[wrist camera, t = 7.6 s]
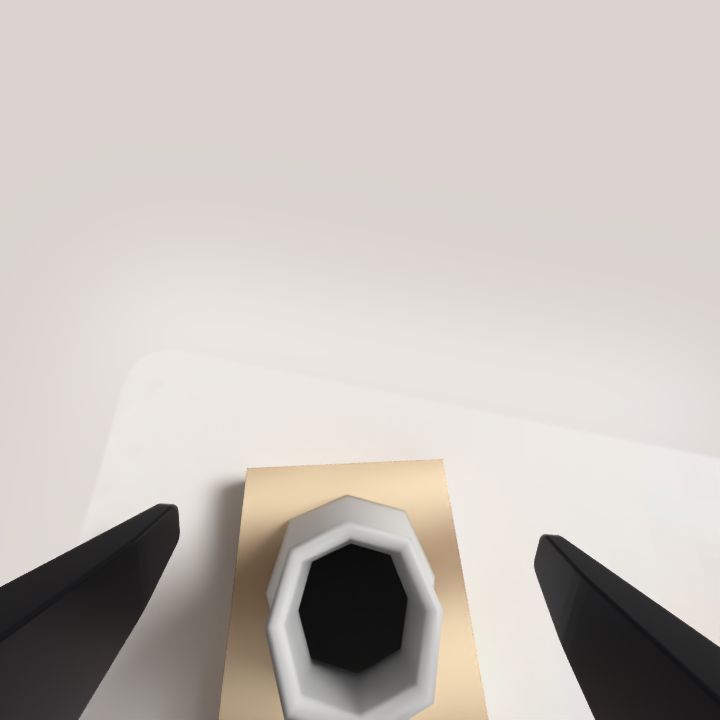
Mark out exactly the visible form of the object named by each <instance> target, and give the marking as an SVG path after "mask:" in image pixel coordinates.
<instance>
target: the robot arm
mask: <svg viewBox="0 0 720 720" xmlns="http://www.w3.org/2000/svg"><path fill="white" fill-rule="evenodd" d="M179 535H180V527H179V513H178V507H177V506H176V505H174V504H163V503H162V504H157V505H155V506H153V507H151V508H150V509H148V510H146V511H144V512H142V513H140V514H138V515H136V516H134V517H132V518H131V519H129V520H127V521H125V522H123V523H121V524H119V525H117V526H115V527H113V528H112V529H110V530H108V531H106V532H104V533H102V534H100V535H98V536H96V537H94V538H93V539H91V540H89V541H87V542H85V543H83V544H81V545H79V546H77V547H75V548H74V549H72V550H70V551H68V552H66V553H64V554H62V555H60V556H58V557H56V558H55V559H53V560H51V561H49V562H47V563H45V564H43V565H41V566H39V567H38V568H36V569H34V570H32V571H30V572H28V573H26V574H24V575H22V576H20V577H18V578H17V579H15V580H13V581H11V582H9V583H7V584H5V585H3V586H2V587H0V720H78V719H79V717H80V716H81V714H82V713H83V711H84V709H85V708H86V706H87V704H88V703H89V701H90V699H91V698H92V696H93V694H94V693H95V691H96V689H97V688H98V686H99V684H100V683H101V681H102V679H103V678H104V676H105V674H106V673H107V671H108V670H109V668H110V666H111V665H112V663H113V661H114V660H115V658H116V656H117V655H118V653H119V651H120V650H121V648H122V646H123V645H124V643H125V641H126V640H127V638H128V636H129V635H130V633H131V631H132V630H133V628H134V626H135V625H136V623H137V622H138V620H139V618H140V616H141V615H142V613H143V611H144V609H145V607H146V606H147V604H148V602H149V600H150V598H151V596H152V594H153V592H154V590H155V588H156V586H157V584H158V582H159V579H160V577H161V575H162V573H163V571H164V569H165V567H166V565H167V563H168V561H169V559H170V557H171V555H172V553H173V551H174V549H175V547H176V545H177V543H178V540H179ZM534 568H535V572H536V575H537V578H538V581H539V584H540V587H541V590H542V592H543V595H544V598H545V601H546V604H547V607H548V609H549V612H550V615H551V618H552V621H553V623H554V626H555V629H556V632H557V634H558V637H559V640H560V642H561V645H562V647H563V649H564V652H565V654H566V656H567V659H568V661H569V663H570V665H571V667H572V670H573V672H574V674H575V676H576V678H577V681H578V683H579V685H580V687H581V690H582V692H583V694H584V696H585V698H586V701H587V703H588V705H589V707H590V709H591V712H592V714H593V716H594V718H595V720H720V647H719V646H717V645H716V644H715V643H713V642H712V641H710V640H709V639H707V638H706V637H705V636H703V635H702V634H700V633H699V632H697V631H696V630H695V629H693V628H692V627H690V626H689V625H687V624H686V623H685V622H683V621H682V620H680V619H679V618H677V617H676V616H675V615H673V614H672V613H670V612H669V611H667V610H666V609H665V608H663V607H662V606H660V605H659V604H657V603H656V602H655V601H653V600H652V599H650V598H649V597H647V596H646V595H644V594H643V593H642V592H640V591H639V590H637V589H636V588H634V587H633V586H632V585H630V584H629V583H627V582H626V581H624V580H623V579H622V578H620V577H619V576H617V575H616V574H614V573H613V572H612V571H610V570H609V569H607V568H606V567H604V566H603V565H602V564H600V563H599V562H597V561H596V560H594V559H593V558H592V557H590V556H589V555H587V554H586V553H584V552H583V551H582V550H580V549H579V548H577V547H576V546H574V545H573V544H572V543H570V542H569V541H567V540H566V539H564V538H563V537H561V536H559V535H549V534H544V535H542V536H541V537H540V540H539V544H538V548H537V552H536V556H535V560H534Z"/></svg>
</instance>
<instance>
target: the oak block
mask: <svg viewBox="0 0 720 720" xmlns="http://www.w3.org/2000/svg"><path fill="white" fill-rule="evenodd" d="M345 495H351V496H355V497H358V498H362V499H366V500H369V501H373V502H377V503H380V504H384V505H388V506H391V507H395V508H399V509H402V510H406V512H407V515H408V517H409V519H410V521H411V523H412V526H413V528H414V530H415V532H416V535H417V537H418V539H419V541H420V544H421V546H422V548H423V550H424V553H425V555H426V557H427V559H428V561H429V564H430V566H431V568H432V570H433V573H434V575H435V585H434V590H435V593H436V595H437V597H438V599H439V602H440V604H441V606H442V609H443V616H442V626H441V637H440V647H439V657H438V667H437V677H436V687H435V697H434V704H433V705H431V706H429V707H428V708H426V709H425V710H423V711H421V712H420V713H418V714H417V715H415V716H413V717H412V718H410V719H409V720H489V719H488V714H487V708H486V702H485V697H484V691H483V685H482V680H481V674H480V668H479V663H478V657H477V651H476V646H475V640H474V634H473V629H472V623H471V617H470V612H469V606H468V600H467V595H466V589H465V583H464V578H463V572H462V566H461V561H460V555H459V549H458V544H457V538H456V532H455V527H454V521H453V515H452V510H451V504H450V498H449V493H448V487H447V481H446V476H445V470H444V464H443V459H438V460H416V461H394V462H372V463H350V464H329V465H307V466H285V467H263V468H247V473H246V482H245V491H244V500H243V508H242V517H241V526H240V535H239V544H238V552H237V561H236V570H235V579H234V588H233V596H232V605H231V614H230V623H229V632H228V640H227V649H226V658H225V667H224V675H223V684H222V693H221V702H220V711H219V719H218V720H284V716H283V711H282V707H281V702H280V697H279V693H278V688H277V684H276V679H275V675H274V670H273V665H272V661H271V656H270V652H269V647H268V642H267V638H266V633H265V629H264V627H265V624H266V621H267V618H268V614H269V611H270V609H269V604H268V600H267V596H266V590H267V587H268V584H269V581H270V578H271V575H272V572H273V569H274V566H275V563H276V560H277V557H278V554H279V551H280V548H281V545H282V541H283V538H284V535H285V532H286V529H287V526H288V523H289V520H290V519H292V518H295V517H297V516H299V515H301V514H304V513H306V512H308V511H311V510H313V509H315V508H317V507H320V506H322V505H324V504H326V503H329V502H331V501H333V500H336V499H338V498H340V497H342V496H345Z"/></svg>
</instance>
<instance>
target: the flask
mask: <svg viewBox="0 0 720 720" xmlns="http://www.w3.org/2000/svg"><path fill="white" fill-rule="evenodd" d="M434 585H435V575H434V573H433V570H432V568H431V566H430V564H429V561H428V559H427V557H426V555H425V553H424V550H423V548H422V546H421V544H420V541H419V539H418V537H417V535H416V532H415V530H414V528H413V526H412V523H411V521H410V519H409V517H408V515H407V512H406V510H402V509H399V508H395V507H391V506H388V505H384V504H380V503H377V502H373V501H369V500H366V499H362V498H358V497H355V496H351V495H345V496H342V497H340V498H338V499H336V500H333V501H331V502H329V503H326V504H324V505H322V506H320V507H317V508H315V509H313V510H311V511H308V512H306V513H304V514H301V515H299V516H297V517H295V518H292V519H290V520H289V523H288V526H287V529H286V532H285V535H284V538H283V541H282V545H281V548H280V551H279V554H278V557H277V560H276V563H275V566H274V569H273V572H272V575H271V578H270V581H269V584H268V587H267V590H266V596H267V600H268V604H269V609H270V611H269V614H268V618H267V621H266V624H265V627H264V629H265V633H266V638H267V642H268V647H269V652H270V656H271V661H272V665H273V670H274V675H275V679H276V684H277V688H278V693H279V697H280V702H281V707H282V711H283V716H284V720H409V719H410V718H412V717H413V716H415V715H417V714H418V713H420V712H421V711H423V710H425V709H426V708H428V707H429V706H431V705H433V704H434V697H435V687H436V677H437V667H438V657H439V647H440V637H441V626H442V616H443V609H442V606H441V604H440V602H439V599H438V597H437V595H436V593H435V590H434Z"/></svg>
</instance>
